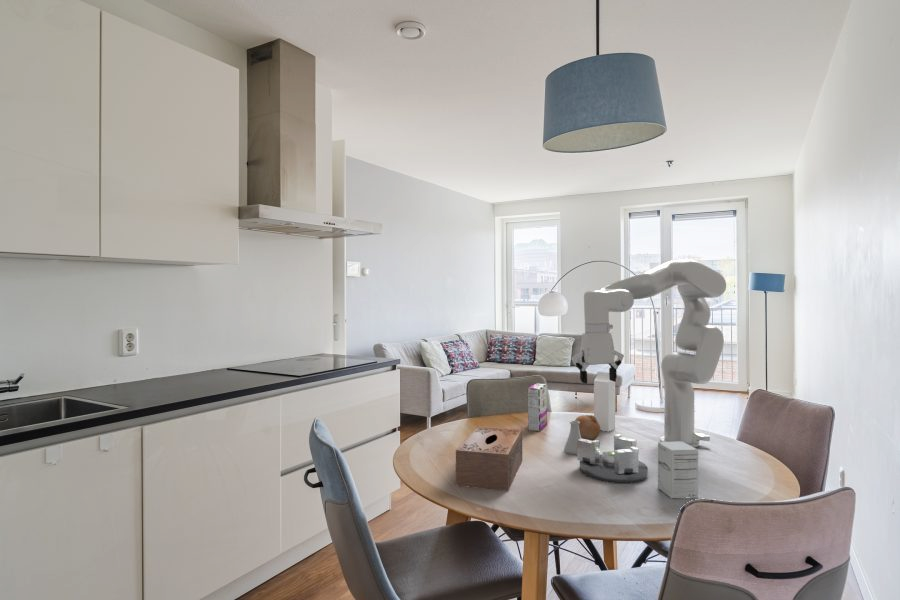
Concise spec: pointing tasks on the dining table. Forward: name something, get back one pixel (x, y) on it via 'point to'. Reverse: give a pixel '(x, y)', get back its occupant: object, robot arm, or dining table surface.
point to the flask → (573, 438)
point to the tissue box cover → (489, 458)
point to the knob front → (588, 451)
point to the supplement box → (678, 469)
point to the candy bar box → (537, 407)
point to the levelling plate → (612, 470)
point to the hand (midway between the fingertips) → (598, 381)
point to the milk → (604, 401)
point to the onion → (588, 427)
